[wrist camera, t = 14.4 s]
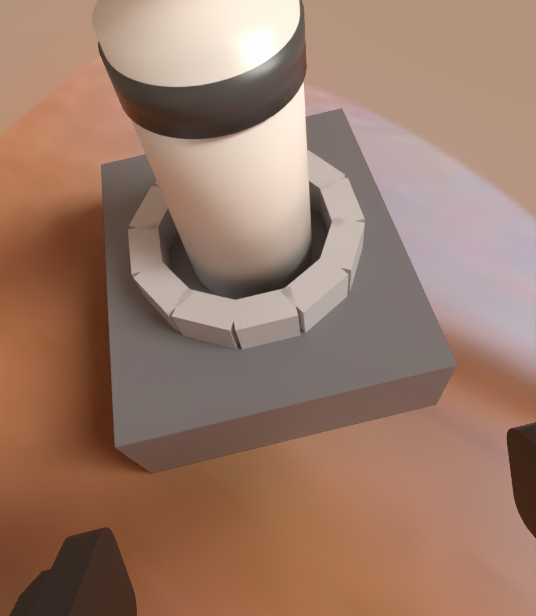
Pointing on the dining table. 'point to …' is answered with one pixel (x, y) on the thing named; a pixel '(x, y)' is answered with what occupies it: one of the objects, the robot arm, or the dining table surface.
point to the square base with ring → (264, 322)
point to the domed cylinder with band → (220, 128)
